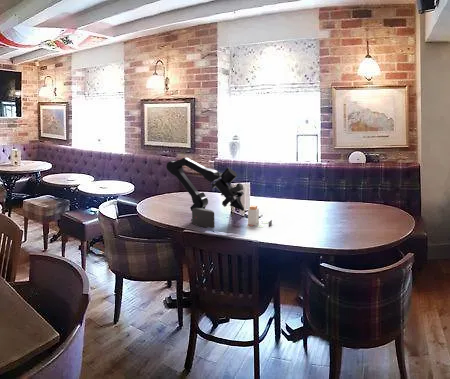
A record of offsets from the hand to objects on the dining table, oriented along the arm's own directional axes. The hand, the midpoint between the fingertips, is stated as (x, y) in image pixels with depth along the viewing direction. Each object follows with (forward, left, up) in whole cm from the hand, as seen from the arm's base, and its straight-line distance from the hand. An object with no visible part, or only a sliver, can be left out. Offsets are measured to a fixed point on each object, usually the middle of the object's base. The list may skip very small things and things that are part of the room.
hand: (243, 210), depth 216 cm
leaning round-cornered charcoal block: (-8, -21, -8) cm, 24 cm away
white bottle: (+4, +3, -7) cm, 9 cm away
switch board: (+6, +4, -8) cm, 11 cm away
